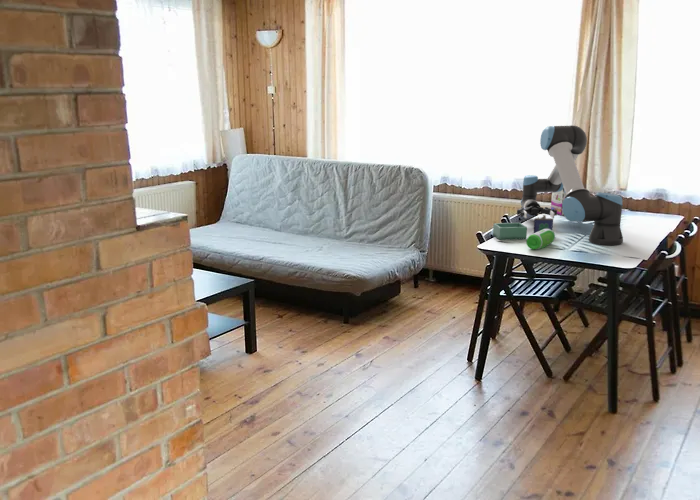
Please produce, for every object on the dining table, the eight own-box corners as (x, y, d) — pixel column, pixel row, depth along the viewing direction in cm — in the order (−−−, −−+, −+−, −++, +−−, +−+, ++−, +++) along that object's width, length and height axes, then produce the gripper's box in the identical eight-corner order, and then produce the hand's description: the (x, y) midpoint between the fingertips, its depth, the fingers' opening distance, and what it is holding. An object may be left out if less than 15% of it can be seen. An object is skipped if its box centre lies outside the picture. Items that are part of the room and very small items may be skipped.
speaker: (540, 251, 297) (541, 235, 295) (524, 249, 301) (525, 233, 299) (555, 244, 310) (556, 228, 308) (540, 242, 314) (541, 226, 312)
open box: (526, 239, 320) (527, 227, 318) (499, 240, 318) (500, 227, 317) (519, 234, 330) (519, 222, 328) (492, 235, 328) (493, 223, 327)
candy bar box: (569, 215, 375) (571, 186, 371) (561, 215, 373) (563, 187, 369) (557, 211, 385) (559, 183, 381) (550, 212, 384) (552, 184, 380)
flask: (551, 235, 327) (552, 214, 324) (553, 237, 324) (554, 215, 321) (532, 235, 327) (534, 214, 324) (534, 237, 324) (535, 215, 322)
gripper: (555, 214, 353) (564, 223, 333) (508, 214, 355) (514, 222, 335) (556, 200, 351) (565, 208, 331) (509, 200, 353) (515, 208, 333)
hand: (539, 215), depth 333 cm, fingers open, 13 cm apart
